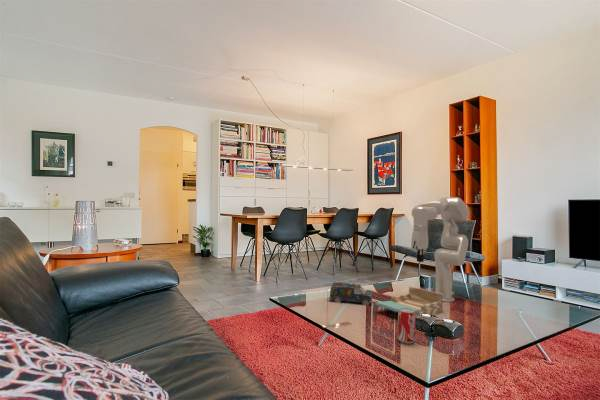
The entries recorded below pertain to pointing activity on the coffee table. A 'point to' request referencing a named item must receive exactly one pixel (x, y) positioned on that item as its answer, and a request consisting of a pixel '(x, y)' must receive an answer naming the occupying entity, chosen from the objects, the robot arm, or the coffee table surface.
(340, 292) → the toy van
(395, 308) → the panel
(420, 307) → the trailer bed
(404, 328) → the soda can
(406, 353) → the coffee table surface
